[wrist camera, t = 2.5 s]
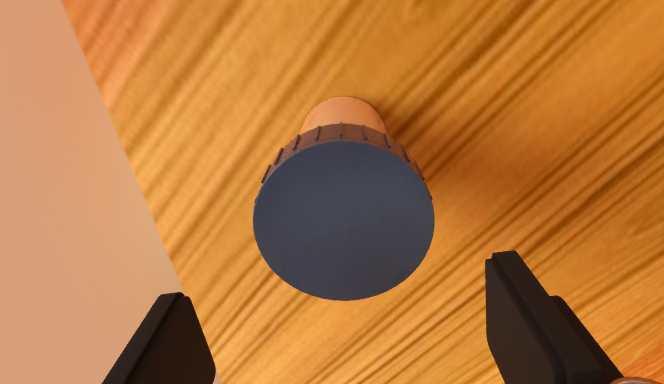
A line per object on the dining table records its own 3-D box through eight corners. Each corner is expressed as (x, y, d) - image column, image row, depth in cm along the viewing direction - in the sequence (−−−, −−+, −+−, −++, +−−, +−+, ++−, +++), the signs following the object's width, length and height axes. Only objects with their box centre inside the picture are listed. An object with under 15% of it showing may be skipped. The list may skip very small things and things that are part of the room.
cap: (417, 108, 16) (429, 125, 14) (429, 257, 19) (441, 291, 17) (245, 135, 17) (230, 155, 14) (282, 275, 20) (273, 311, 17)
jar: (381, 89, 25) (408, 144, 15) (391, 173, 27) (420, 272, 17) (292, 103, 25) (257, 166, 15) (308, 185, 28) (288, 288, 17)
